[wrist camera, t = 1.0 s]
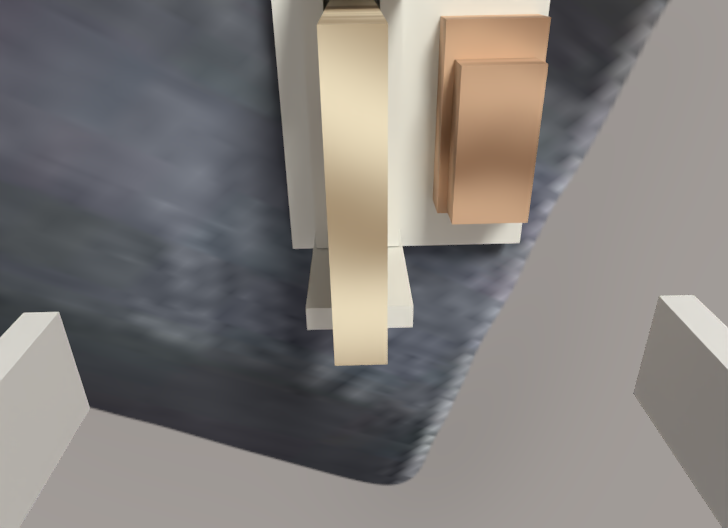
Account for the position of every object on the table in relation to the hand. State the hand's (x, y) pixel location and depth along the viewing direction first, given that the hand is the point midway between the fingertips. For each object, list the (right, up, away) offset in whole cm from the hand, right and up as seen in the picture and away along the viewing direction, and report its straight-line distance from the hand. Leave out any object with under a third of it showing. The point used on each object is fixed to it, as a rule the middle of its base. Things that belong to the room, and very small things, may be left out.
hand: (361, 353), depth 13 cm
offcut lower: (+6, +10, +18) cm, 22 cm away
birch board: (0, +10, +18) cm, 21 cm away
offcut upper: (+7, +9, +17) cm, 20 cm away
